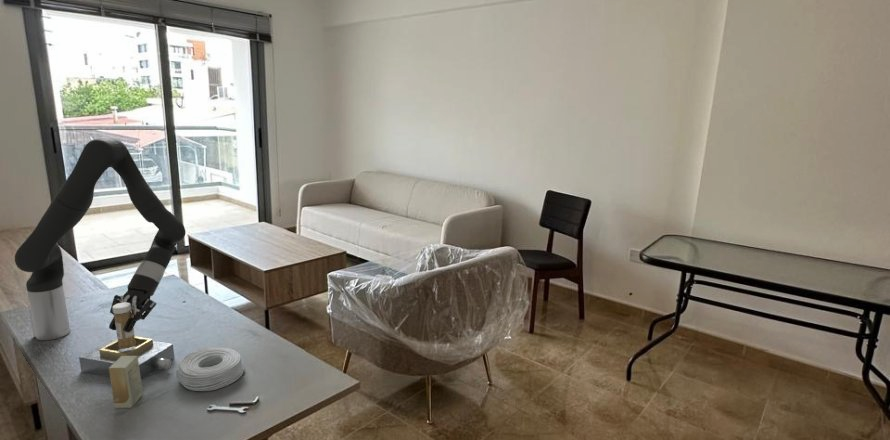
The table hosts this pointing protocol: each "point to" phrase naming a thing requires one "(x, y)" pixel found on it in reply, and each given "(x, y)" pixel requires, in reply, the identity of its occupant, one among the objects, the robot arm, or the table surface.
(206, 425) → the table surface
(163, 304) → the table surface
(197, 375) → the cable
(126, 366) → the skincare box
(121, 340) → the sprinkles bottle
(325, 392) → the table surface
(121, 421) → the table surface
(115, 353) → the grey block with recess
